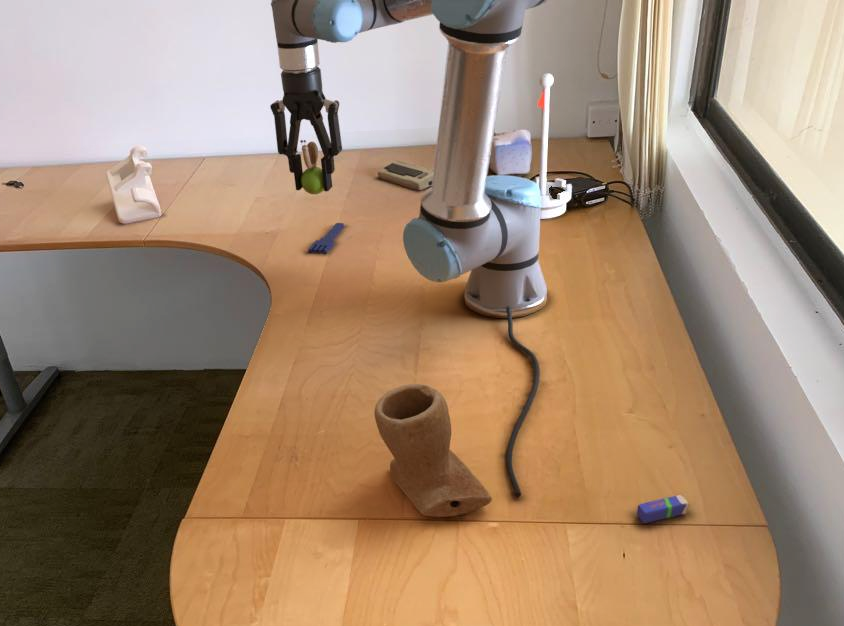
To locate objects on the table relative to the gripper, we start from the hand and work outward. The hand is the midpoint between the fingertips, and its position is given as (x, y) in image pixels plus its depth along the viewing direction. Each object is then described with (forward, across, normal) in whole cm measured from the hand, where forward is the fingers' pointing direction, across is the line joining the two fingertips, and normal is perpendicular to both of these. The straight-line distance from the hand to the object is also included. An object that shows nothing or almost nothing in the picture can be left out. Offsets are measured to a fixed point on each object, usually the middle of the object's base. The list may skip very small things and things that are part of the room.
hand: (314, 188), depth 170 cm
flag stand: (+17, -41, -35) cm, 56 cm away
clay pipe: (+17, -41, +67) cm, 80 cm away
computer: (+17, -5, -51) cm, 54 cm away
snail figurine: (+2, 0, 0) cm, 2 cm away
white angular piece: (+17, +60, -24) cm, 67 cm away
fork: (+17, +3, -12) cm, 21 cm away
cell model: (+17, -28, -63) cm, 71 cm away
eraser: (+17, -71, +65) cm, 98 cm away
